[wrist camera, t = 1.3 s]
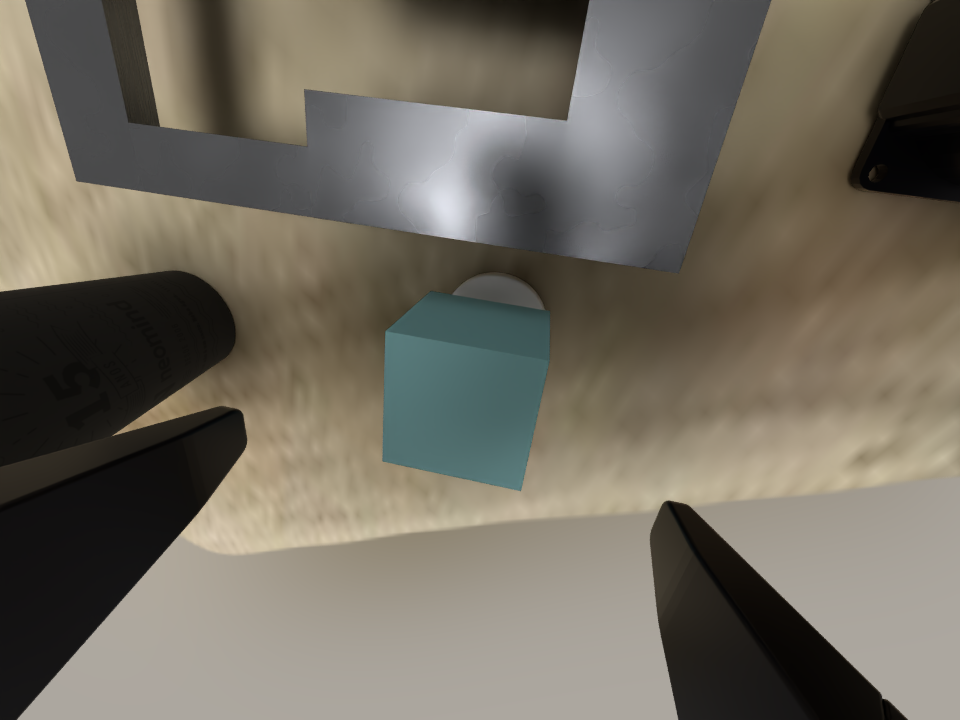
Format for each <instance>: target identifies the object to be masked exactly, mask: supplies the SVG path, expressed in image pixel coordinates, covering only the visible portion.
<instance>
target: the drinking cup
mask: <svg viewBox="0 0 960 720" xmlns="http://www.w3.org/2000/svg"><path fill="white" fill-rule="evenodd" d="M234 341H235V328H234V323H233V319H232V316H231V314H230V312H229V310H228V308H227V306H226V304H225V303H224V301H223V300H222V298H221V297H220V296H219V295H218V294H217V293H216V291H215V290H214V289H212V288H211V287H210V286H209V285H208V284H207V283H205V282H204V281H202V280H201V279H199V278H197V277H195V276H193V275H191V274H188V273H184V272H180V271H165V272H157V273H148V274H140V275H132V276H124V277H116V278H108V279H100V280H92V281H84V282H76V283H68V284H59V285H51V286H43V287H35V288H27V289H19V290H11V291H3V292H0V467H3V466H7V465H10V464H14V463H17V462H21V461H25V460H28V459H32V458H35V457H39V456H43V455H46V454H50V453H53V452H57V451H61V450H64V449H68V448H71V447H75V446H79V445H82V444H86V443H89V442H93V441H96V440H100V439H104V438H107V437H111V436H112V435H114V434H115V433H117V432H118V431H120V430H121V429H123V428H124V427H125V426H127V425H128V424H130V423H131V422H133V421H134V420H136V419H137V418H139V417H140V416H141V415H143V414H144V413H146V412H147V411H149V410H150V409H152V408H153V407H155V406H156V405H157V404H159V403H160V402H162V401H163V400H165V399H166V398H168V397H169V396H171V395H172V394H173V393H175V392H176V391H178V390H179V389H181V388H182V387H184V386H185V385H187V384H188V383H189V382H191V381H192V380H194V379H195V378H197V377H198V376H200V375H201V374H203V373H204V372H205V371H207V370H208V369H210V368H211V367H213V366H214V365H216V364H217V363H219V362H220V361H221V360H223V359H224V358H225V357H227V355H228V354H229V353H230V351H231V350H232V347H233V345H234Z"/></svg>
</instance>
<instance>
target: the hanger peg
mask: <svg viewBox="0 0 960 720" xmlns="http://www.w3.org/2000/svg"><path fill="white" fill-rule="evenodd" d="M549 361H550V311H547V310H545V308H544V305H543V303H542V301H541V299H540V297H539V296H538V294H537V293H536V292H535V290H534V289H533V288H532V287H531V286H530V285H529V284H527V283H526V282H525V281H523V280H521V279H520V278H518V277H516V276H513V275H510V274H506V273H501V272H488V273H482V274H479V275H476V276H474V277H472V278H470V279H468V280H466V281H465V282H464V283H462V284H461V285H460V286H459V287H458V288H457V289H456V290H455V291H454V293H453V294H446V293H440V292H434V291H430V292H429V293H428V294H427V295H426V296H425V297H424V298H422V299H421V300H420V301H419V302H418V303H417V304H416V305H414V306H413V307H412V308H411V309H410V310H409V311H408V312H407V313H405V314H404V315H403V316H402V317H401V318H400V319H399V320H397V321H396V322H395V323H394V324H393V325H392V326H391V327H390V328H388V329H387V330H386V331H385V369H384V414H383V458H382V461H383V462H388V463H392V464H397V465H402V466H406V467H411V468H416V469H420V470H425V471H430V472H434V473H439V474H444V475H448V476H453V477H458V478H462V479H467V480H472V481H476V482H481V483H486V484H490V485H495V486H500V487H504V488H509V489H514V490H518V491H521V489H522V484H523V480H524V475H525V470H526V466H527V461H528V457H529V452H530V448H531V443H532V438H533V434H534V429H535V425H536V420H537V416H538V411H539V407H540V402H541V397H542V393H543V388H544V384H545V379H546V375H547V370H548V365H549Z"/></svg>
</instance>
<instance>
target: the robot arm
mask: <svg viewBox="0 0 960 720" xmlns="http://www.w3.org/2000/svg"><path fill="white" fill-rule="evenodd" d="M878 112H879V117H878V119H877V121H876V123H875V125H874V127H873V129H872V131H871V133H870V136H869V138H868V140H867V142H866V144H865V146H864V148H863V150H862V152H861V155H860V157H859V159H858V161H857V163H856V165H855V167H854V169H853V171H852V175H851V184H852V185H853V186H854V188H856V189H858V190H862V191H869V192H877V193H885V194H893V195H901V196H909V197H916V198H924V199H932V200H940V201H948V202H956V203H960V0H933V3H931V4H930V5H928V6H927V7H926V8H925V10H924V11H923V13H922V15H921V18H920V20H919V22H918V24H917V26H916V28H915V30H914V33H913V35H912V37H911V39H910V41H909V43H908V45H907V47H906V50H905V52H904V54H903V56H902V58H901V60H900V62H899V64H898V67H897V69H896V71H895V73H894V75H893V77H892V79H891V82H890V84H889V86H888V88H887V90H886V92H885V94H884V96H883V99H882V101H881V103H880V105H879V107H878ZM875 166H877V167H878V169H879V172H878V175H877V176H876V178H875V179H874V180H872V181H870V180H869V177H868V176H869V172H870V171H871V170H872V168H873V167H875ZM246 445H247V435H246V429H245V422H244V416H243V413H242V412H241V411H240V410H239V409H235V408H230V407H226V406H219V407H215V408H212V409H208V410H204V411H201V412H197V413H194V414H190V415H186V416H183V417H179V418H176V419H172V420H168V421H165V422H161V423H158V424H154V425H150V426H147V427H143V428H140V429H136V430H132V431H129V432H125V433H122V434H118V435H114V436H111V437H107V438H104V439H100V440H96V441H93V442H89V443H86V444H82V445H79V446H75V447H71V448H68V449H64V450H61V451H57V452H53V453H50V454H46V455H43V456H39V457H35V458H32V459H28V460H25V461H21V462H17V463H14V464H10V465H7V466H3V467H0V720H17V719H18V718H19V717H20V715H21V714H22V713H23V712H24V711H25V710H26V709H27V707H28V706H29V705H30V704H31V703H32V702H33V701H34V700H35V698H36V697H37V696H38V695H39V694H40V693H41V692H42V690H43V689H44V688H45V687H46V686H47V685H48V683H49V682H50V681H51V680H52V679H53V678H54V677H55V676H56V675H57V673H58V672H59V671H60V670H61V669H62V668H63V667H64V665H65V664H66V663H67V662H68V661H69V660H70V658H71V657H72V656H73V655H74V654H75V653H76V652H77V650H78V649H79V648H80V647H81V646H82V645H83V644H84V643H85V642H86V640H87V639H88V638H89V637H90V636H91V635H92V634H93V632H94V631H95V630H96V629H97V627H99V626H100V624H101V623H102V622H103V621H104V620H105V619H106V618H107V616H108V615H109V614H110V613H111V612H112V611H113V610H114V609H115V607H116V606H117V605H118V604H119V603H120V601H122V599H123V598H124V597H125V596H126V595H127V593H129V591H130V590H131V589H132V588H133V587H134V586H135V584H136V583H137V582H138V581H139V580H140V579H141V578H142V577H143V576H144V574H145V573H146V572H147V571H148V570H149V569H150V568H151V566H152V565H153V564H154V563H155V562H156V561H157V560H158V558H159V557H160V556H161V555H162V554H163V552H165V550H166V549H167V548H168V547H169V546H170V545H171V544H172V542H173V541H174V540H175V539H176V538H177V537H178V536H179V535H180V533H181V532H182V531H183V530H184V529H185V528H186V527H187V525H188V524H189V523H190V522H191V521H192V520H193V519H194V517H195V516H196V515H197V514H198V513H199V511H200V510H201V509H202V508H203V506H204V505H205V504H206V502H207V501H208V500H209V498H210V497H211V496H212V494H213V493H214V492H215V490H216V489H217V487H218V486H219V485H220V483H221V482H222V481H223V479H224V478H225V476H226V475H227V474H228V472H229V471H230V470H231V468H232V467H233V466H234V464H235V463H236V461H237V460H238V459H239V457H240V456H241V455H242V453H243V452H244V450H245V448H246ZM650 547H651V557H652V567H653V577H654V587H655V597H656V607H657V614H658V623H659V628H660V633H661V638H662V643H663V648H664V653H665V658H666V662H667V667H668V672H669V677H670V682H671V687H672V691H673V696H674V701H675V705H676V710H677V715H678V720H908V719H907V718H906V717H905V716H904V715H903V714H902V713H900V711H899V710H898V709H897V708H895V706H894V705H892V704H891V703H890V702H889V701H888V700H886V699H882V695H881V694H880V692H879V691H878V690H877V689H876V688H875V687H874V686H873V685H872V684H871V683H870V682H869V681H868V680H867V679H866V678H865V677H864V676H863V675H862V674H861V673H859V671H857V670H856V669H855V668H854V667H853V666H852V665H851V664H850V663H849V662H848V661H847V660H846V659H845V658H844V657H843V656H842V655H841V654H840V653H839V652H838V651H837V650H836V649H835V648H834V647H833V646H832V645H831V644H830V643H829V642H828V641H827V640H826V639H825V638H824V637H823V636H822V635H821V634H819V632H818V631H817V630H816V629H815V628H814V627H813V626H812V625H811V624H810V623H809V622H808V621H806V620H805V619H804V618H803V617H802V616H801V615H800V614H799V613H798V612H797V611H796V610H795V609H794V608H793V607H792V606H791V605H790V604H789V603H788V602H787V601H786V600H785V599H784V598H783V597H782V596H781V595H780V594H779V593H778V592H777V591H776V590H775V589H774V588H773V587H772V586H771V585H770V584H769V583H768V582H767V581H766V580H765V579H764V578H763V577H762V576H760V574H758V573H757V572H756V571H755V570H754V569H753V568H752V567H751V566H750V565H749V564H748V563H747V562H746V561H745V560H744V559H743V558H742V557H741V556H740V555H739V554H738V553H737V552H736V551H735V550H734V549H733V548H732V547H731V546H730V545H729V544H728V543H727V542H726V541H725V540H724V539H723V538H722V537H721V536H720V535H719V534H717V532H716V531H715V530H714V529H712V527H710V526H709V525H708V524H707V523H706V522H705V521H704V520H703V519H702V518H701V517H700V516H699V515H698V514H697V513H696V512H695V511H694V510H693V509H692V508H691V507H690V506H689V505H687V504H683V503H679V502H674V501H665V502H664V503H663V504H662V506H661V508H660V511H659V513H658V516H657V518H656V520H655V522H654V525H653V527H652V530H651V533H650Z"/></svg>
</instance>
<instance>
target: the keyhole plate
mask: <svg viewBox="0 0 960 720" xmlns="http://www.w3.org/2000/svg"><path fill="white" fill-rule="evenodd" d="M25 2H26V5H27V9H28V12H29V16H30V19H31V23H32V26H33V30H34V33H35V37H36V40H37V44H38V47H39V51H40V54H41V58H42V61H43V65H44V68H45V72H46V75H47V79H48V82H49V86H50V89H51V93H52V97H53V100H54V104H55V107H56V111H57V114H58V118H59V121H60V125H61V128H62V132H63V135H64V139H65V142H66V146H67V149H68V153H69V156H70V160H71V163H72V167H73V170H74V174H75V177H76V181H79V182H86V183H92V184H99V185H105V186H112V187H118V188H125V189H131V190H138V191H144V192H151V193H157V194H164V195H170V196H177V197H183V198H190V199H196V200H203V201H209V202H216V203H222V204H229V205H236V206H242V207H249V208H255V209H262V210H268V211H275V212H281V213H288V214H294V215H301V216H307V217H314V218H320V219H327V220H333V221H340V222H346V223H353V224H359V225H366V226H372V227H379V228H386V229H392V230H399V231H405V232H412V233H418V234H425V235H431V236H438V237H444V238H451V239H457V240H464V241H470V242H477V243H483V244H490V245H496V246H503V247H509V248H516V249H522V250H529V251H535V252H542V253H549V254H555V255H562V256H568V257H575V258H581V259H588V260H594V261H601V262H607V263H614V264H620V265H627V266H633V267H640V268H646V269H653V270H659V271H666V272H672V273H679V272H680V269H681V266H682V263H683V260H684V257H685V254H686V251H687V248H688V245H689V242H690V239H691V236H692V233H693V230H694V227H695V224H696V221H697V218H698V215H699V212H700V209H701V207H702V204H703V201H704V198H705V195H706V192H707V189H708V186H709V183H710V180H711V177H712V174H713V171H714V168H715V165H716V162H717V159H718V156H719V153H720V150H721V147H722V144H723V141H724V139H725V136H726V133H727V130H728V127H729V124H730V121H731V118H732V115H733V112H734V109H735V106H736V103H737V100H738V97H739V94H740V91H741V88H742V85H743V82H744V79H745V76H746V73H747V71H748V68H749V65H750V62H751V59H752V56H753V53H754V50H755V47H756V44H757V41H758V38H759V35H760V32H761V29H762V26H763V23H764V20H765V17H766V14H767V11H768V8H769V5H770V2H771V0H589V4H588V10H587V15H586V20H585V26H584V31H583V37H582V42H581V47H580V53H579V58H578V63H577V69H576V74H575V80H574V85H573V90H572V96H571V101H570V106H569V112H568V117H567V121H564V120H556V119H548V118H539V117H531V116H523V115H514V114H506V113H498V112H489V111H481V110H473V109H464V108H456V107H447V106H439V105H431V104H422V103H414V102H406V101H397V100H389V99H381V98H372V97H364V96H356V95H347V94H339V93H331V92H322V91H314V90H305V89H304V94H305V112H306V130H307V147H305V146H298V145H291V144H283V143H276V142H268V141H261V140H253V139H246V138H239V137H231V136H224V135H216V134H209V133H202V132H194V131H187V130H179V129H172V128H165V127H160V124H159V119H158V114H157V109H156V103H155V98H154V93H153V88H152V83H151V77H150V72H149V67H148V62H147V57H146V51H145V46H144V41H143V36H142V31H141V25H140V20H139V15H138V10H137V5H136V0H25Z"/></svg>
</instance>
